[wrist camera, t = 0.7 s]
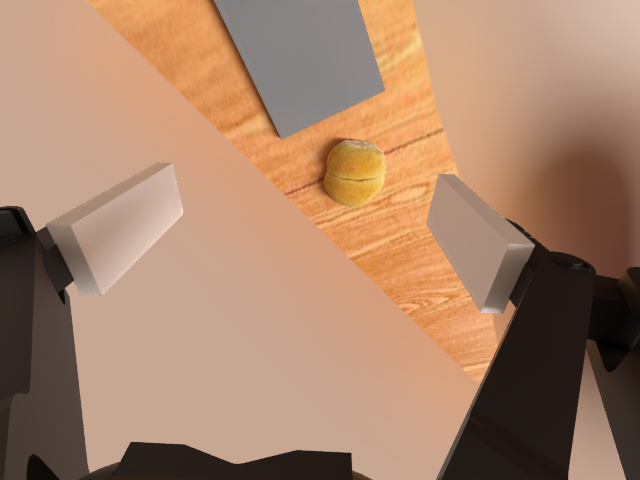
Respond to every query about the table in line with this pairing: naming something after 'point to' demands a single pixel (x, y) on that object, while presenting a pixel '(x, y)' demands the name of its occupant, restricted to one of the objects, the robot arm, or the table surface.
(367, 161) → the bread roll
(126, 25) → the table surface
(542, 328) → the robot arm
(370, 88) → the slate board
